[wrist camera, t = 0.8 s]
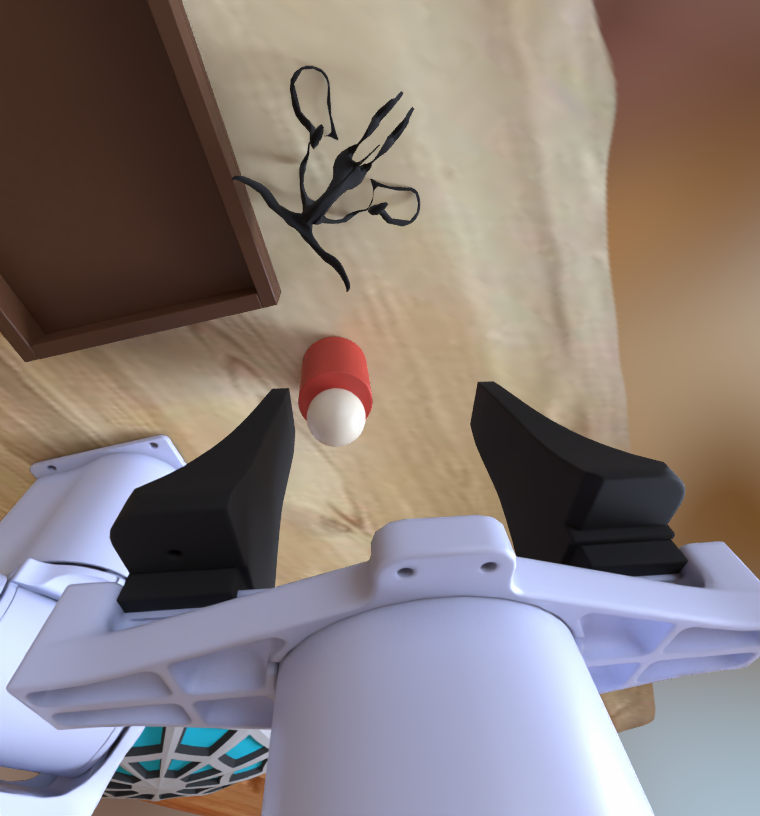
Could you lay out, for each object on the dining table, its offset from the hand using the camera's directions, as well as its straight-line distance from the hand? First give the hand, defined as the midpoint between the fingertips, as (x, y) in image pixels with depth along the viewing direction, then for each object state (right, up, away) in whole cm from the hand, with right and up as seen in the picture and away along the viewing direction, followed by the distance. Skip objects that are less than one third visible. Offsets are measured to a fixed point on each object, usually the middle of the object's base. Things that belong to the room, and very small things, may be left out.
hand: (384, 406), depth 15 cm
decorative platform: (-29, -45, +39) cm, 66 cm away
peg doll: (-3, +3, +10) cm, 11 cm away
